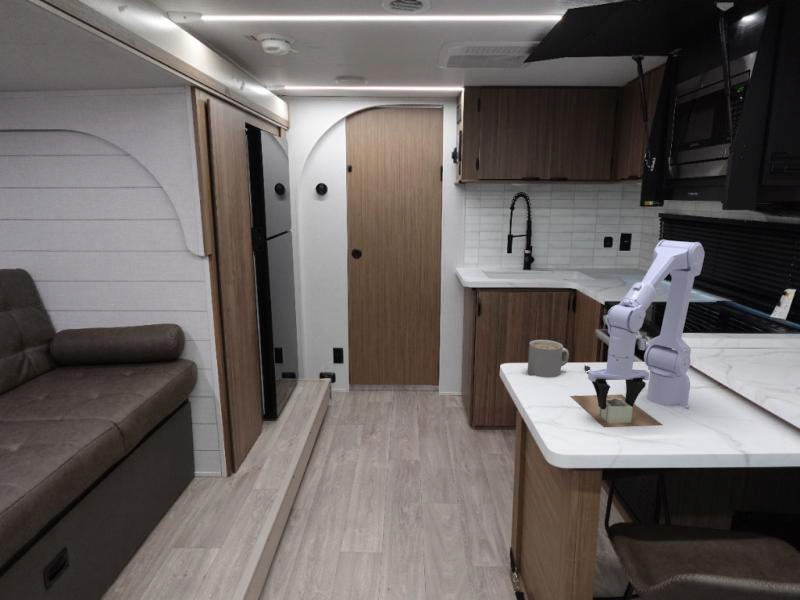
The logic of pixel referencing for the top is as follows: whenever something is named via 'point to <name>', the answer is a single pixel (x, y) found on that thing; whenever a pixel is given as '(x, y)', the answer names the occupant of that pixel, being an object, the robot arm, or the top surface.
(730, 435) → the top surface
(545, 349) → the coffee mug
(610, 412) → the collar
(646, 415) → the post board
